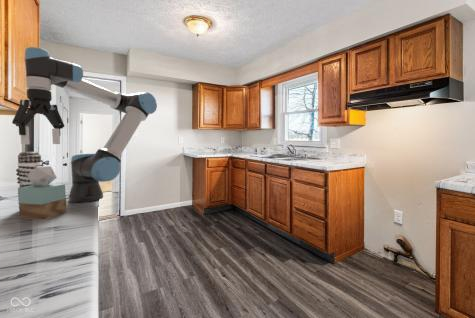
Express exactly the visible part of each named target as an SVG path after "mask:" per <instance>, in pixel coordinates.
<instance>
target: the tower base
mask: <svg viewBox="0 0 475 318" xmlns="http://www.w3.org/2000/svg"><path fill="white" fill-rule="evenodd" d="M67 209H68V208H67V198H65V199H61V200H58V201H54V202H50V203H46V204H42V205H39V204H23V203H19V202H18V211H19V219H27V220H28V219H29V220H44V219H45V220H47V219H50V218H53V217H56V216H59V215H61V214H64V213H67V212H68V210H67Z"/></svg>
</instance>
